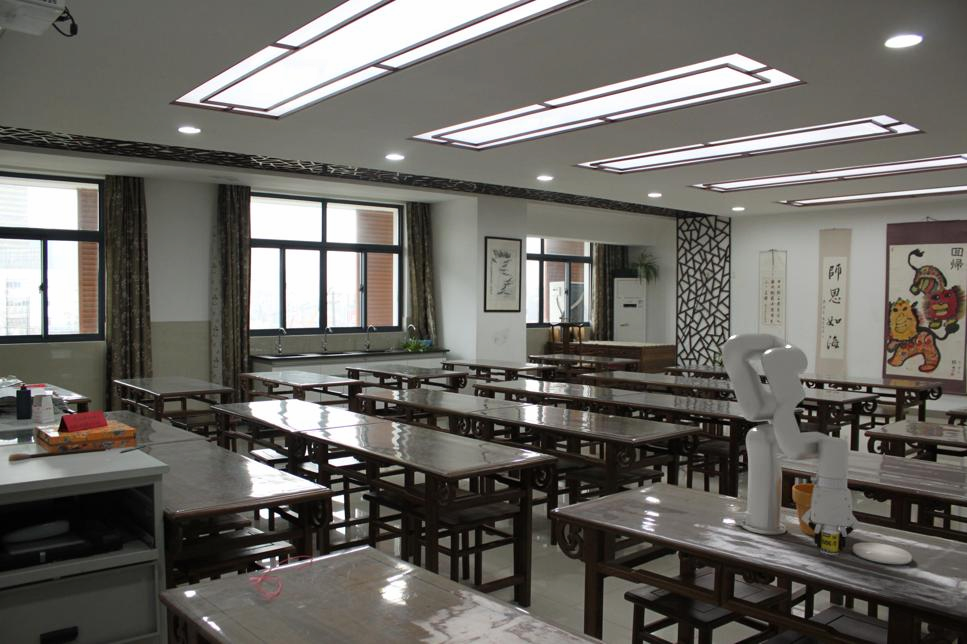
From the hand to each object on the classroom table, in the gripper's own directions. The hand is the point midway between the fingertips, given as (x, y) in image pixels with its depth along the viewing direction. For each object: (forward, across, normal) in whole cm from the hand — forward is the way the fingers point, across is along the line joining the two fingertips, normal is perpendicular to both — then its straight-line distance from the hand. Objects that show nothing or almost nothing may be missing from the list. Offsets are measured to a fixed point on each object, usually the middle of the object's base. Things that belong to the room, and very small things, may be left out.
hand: (829, 547), depth 198 cm
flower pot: (+2, -2, +18) cm, 18 cm away
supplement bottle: (+2, 0, 0) cm, 2 cm away
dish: (+1, +13, +2) cm, 13 cm away
